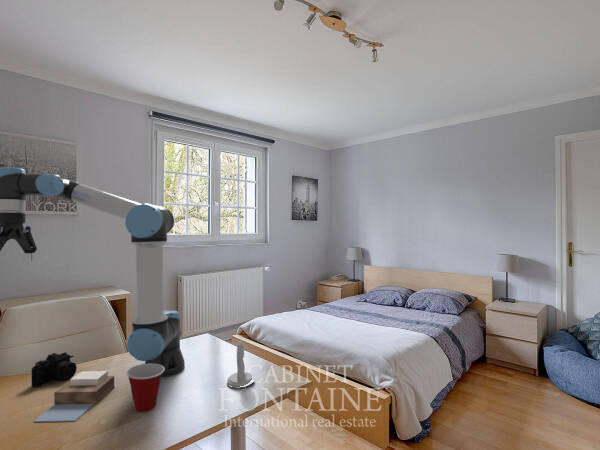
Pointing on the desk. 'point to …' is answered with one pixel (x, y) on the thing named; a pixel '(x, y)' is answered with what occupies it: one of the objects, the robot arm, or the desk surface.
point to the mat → (64, 413)
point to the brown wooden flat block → (84, 392)
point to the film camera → (53, 369)
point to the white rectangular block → (89, 378)
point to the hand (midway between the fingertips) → (11, 273)
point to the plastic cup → (145, 385)
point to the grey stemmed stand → (239, 370)
